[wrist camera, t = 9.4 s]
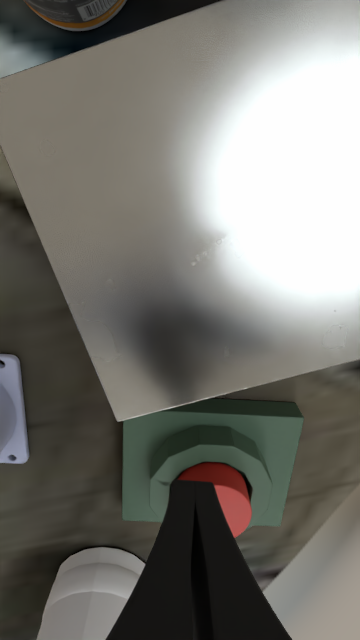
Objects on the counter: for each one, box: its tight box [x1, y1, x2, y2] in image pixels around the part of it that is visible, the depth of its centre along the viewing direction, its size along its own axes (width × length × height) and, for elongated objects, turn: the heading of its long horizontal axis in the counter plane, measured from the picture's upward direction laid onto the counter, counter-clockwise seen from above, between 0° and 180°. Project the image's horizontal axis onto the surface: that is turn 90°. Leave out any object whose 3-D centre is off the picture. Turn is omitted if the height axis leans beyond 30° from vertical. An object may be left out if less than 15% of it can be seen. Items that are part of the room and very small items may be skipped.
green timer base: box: [122, 398, 304, 531], centre depth 22 cm, size 11×9×4 cm
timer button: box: [178, 462, 252, 538], centre depth 20 cm, size 4×4×2 cm
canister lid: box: [0, 0, 360, 422], centre depth 12 cm, size 13×13×1 cm
